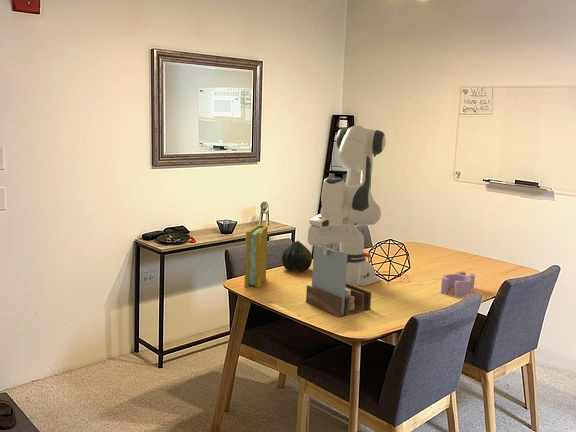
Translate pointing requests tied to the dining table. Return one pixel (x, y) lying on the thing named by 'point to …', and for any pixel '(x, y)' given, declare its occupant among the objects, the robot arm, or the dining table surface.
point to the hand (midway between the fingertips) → (329, 254)
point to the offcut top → (347, 292)
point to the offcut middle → (351, 299)
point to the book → (256, 255)
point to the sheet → (330, 272)
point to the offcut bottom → (351, 306)
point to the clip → (458, 283)
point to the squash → (297, 257)
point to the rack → (339, 301)
